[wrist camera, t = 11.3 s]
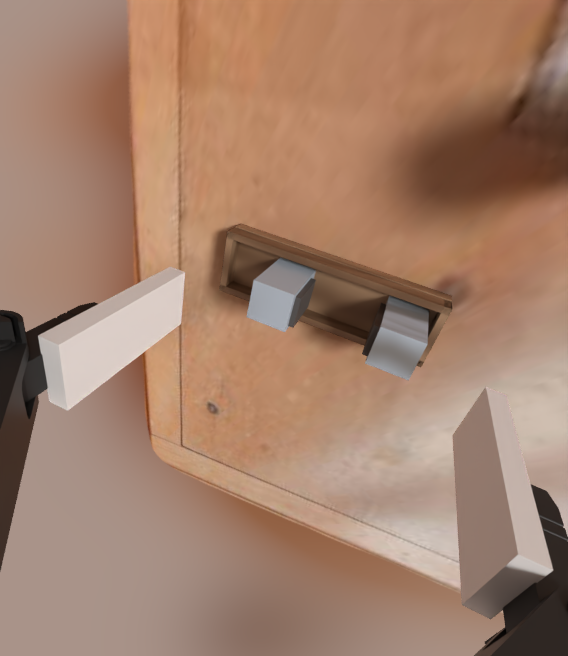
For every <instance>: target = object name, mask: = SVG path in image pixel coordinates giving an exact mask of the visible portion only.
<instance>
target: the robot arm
mask: <svg viewBox="0 0 568 656" xmlns="http://www.w3.org/2000/svg"><path fill="white" fill-rule="evenodd" d="M184 280H185V272H183V271H180V270H178V269H175V268H173V267H169V268H167V269H165V270H163V271H161V272H159V273H157V274H155V275H153V276H151V277H149V278H147V279H146V280H144V281H142V282H140V283H138V284H136V285H134V286H132V287H130V288H128V289H126V290H124V291H123V292H121V293H119V294H117V295H115V296H113V297H111V298H109V299H107V300H105V301H103V302H102V303H100V304H97V303H95V302H94V303H89V304H84V305H80V306H78V307H76V308H74V309H72V310H70V311H68V312H67V313H64V314H62V315H60V316H58V317H57V318H54V319H52V320H50V321H48V322H46V323H44V324H41V325H40V326H37V327H36V328H33V329H31V330H29V331H27V332H25V327H24V322H23V318H22V316H21V315H20V314H18V313H15V312H13V311H5V310H0V570H1V566H2V561H3V557H4V553H5V548H6V544H7V539H8V535H9V531H10V526H11V522H12V517H13V513H14V509H15V504H16V500H17V495H18V491H19V487H20V482H21V478H22V474H23V469H24V464H25V460H26V456H27V452H28V447H29V443H30V438H31V434H32V430H33V424H34V421H35V416H36V412H37V408H38V403H39V401H38V394H40V393H41V392H43V391H44V390H46V389H47V391H48V397H49V402H51V403H53V404H55V405H57V406H59V407H61V408H63V409H65V410H69V409H70V408H72V407H73V406H74V405H75V404H77V403H78V402H79V401H81V400H82V399H83V398H85V397H86V396H87V395H89V394H90V393H91V392H93V391H94V390H95V389H96V388H98V387H99V386H100V385H102V384H103V383H104V382H106V381H107V380H108V379H110V378H111V377H112V376H113V375H115V374H116V373H117V372H118V371H120V370H121V369H123V367H125V366H126V365H128V364H129V363H130V362H132V361H133V360H134V359H136V358H137V357H138V356H139V355H141V354H142V353H143V352H145V351H146V350H147V349H149V348H150V347H151V346H153V345H154V344H155V343H156V342H158V341H159V340H160V339H162V338H163V337H164V336H166V335H167V334H168V333H169V332H171V331H172V330H173V329H175V328H176V327H177V326H179V325H180V324H181V317H182V305H183V292H184ZM453 451H454V469H455V488H456V506H457V524H458V543H459V561H460V579H461V598H462V605H463V606H465V607H467V608H469V609H471V610H473V611H475V612H477V613H479V614H481V615H483V616H485V617H487V618H489V619H492V618H493V617H494V616H496V615H497V614H498V613H499V612H501V611H502V610H503V613H504V620H505V628H503V629H502V630H500V631H499V632H498V633H496V634H495V635H494V636H492V637H491V638H490V639H488V640H487V641H485V644H486V645H485V646H484V647H483V648H482V649H481V650H480V651H478V652H477V653H476V654H475V655H474V656H568V537H567V534H566V530H565V528H563V526H564V524H563V521H562V518H561V515H560V512H559V509H558V507H557V506H556V504H555V503H554V501H553V500H552V498H551V497H550V495H549V494H548V492H547V491H545V490H543V489H541V488H538V487H536V486H533V485H531V484H530V481H529V477H528V473H527V469H526V466H525V462H524V458H523V454H522V450H521V447H520V443H519V439H518V435H517V432H516V428H515V424H514V420H513V417H512V413H511V409H510V405H509V401H508V398H507V395H506V394H503V393H501V392H498V391H495V390H493V389H490V388H488V387H486V388H485V389H484V390H483V392H482V393H481V395H480V396H479V398H478V399H477V401H476V402H475V404H474V405H473V406H472V408H471V409H470V411H469V412H468V414H467V415H466V417H465V418H464V420H463V421H462V422H461V424H460V425H459V427H458V428H457V430H456V431H455V433H454V434H453Z"/></svg>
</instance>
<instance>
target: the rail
mask: <svg viewBox="0 0 568 656" xmlns="http://www.w3.org/2000/svg"><path fill="white" fill-rule="evenodd" d="M281 257H282V258H285V259H288V260H290V261H293V262H296V263H299V264H302V265H304V266H307V267H310V268H313V269H316V272H315V276H314V279H315V280H316V282H315V285H314V289H313V292H312V295H311V299H310V302H309V306H308V308H307V309H306V310H305V312H304V313H303V315H302V316H301V317H300V319H299V321H302V322H304V323H307V324H309V325H312V326H315V327H317V328H320V329H323V330H325V331H328V332H330V333H333V334H336V335H338V336H341V337H343V338H346V339H349V340H351V341H354V342H356V343H359V344H362V345H364V350H363V353H362V354H363V355H366V356H367V359H366V362H365V363H366V364H368V365H371V366H373V367H376V368H378V369H381V370H383V371H386V372H388V373H391V374H394V375H396V376H399V377H401V378H404V379H406V380H409V378H410V377H411V375H412V373H413V371H414V369H415V367H416V366H419V367H421V366H422V365H423V363H424V361H425V359H426V357H427V355H428V353H429V352H430V350H431V348H432V346H433V344H434V342H435V340H436V339H437V337H438V335H439V333H440V331H441V329H442V327H443V326H444V324H445V322H446V320H447V318H448V316H449V314H450V313H451V311H452V296H451V295H448V294H445V293H442V292H439V291H436V290H433V289H430V288H428V287H425V286H422V285H419V284H416V283H413V282H410V281H407V280H404V279H401V278H398V277H395V276H392V275H390V274H387V273H384V272H381V271H378V270H375V269H372V268H369V267H366V266H363V265H360V264H357V263H354V262H352V261H349V260H346V259H343V258H340V257H337V256H334V255H331V254H328V253H325V252H322V251H319V250H316V249H314V248H311V247H308V246H305V245H302V244H299V243H296V242H293V241H290V240H287V239H284V238H281V237H278V236H276V235H273V234H270V233H267V232H264V231H261V230H258V229H255V228H252V227H249V226H246V225H243V224H239V225H237V226H235V228H233V229H231V230H229V231H227V239H226V246H225V253H224V260H223V268H222V275H221V282H220V289H219V290H221V291H223V292H226V293H229V294H231V295H234V296H236V297H239V298H242V299H244V300H247V301H249V302H250V297H251V292H252V287H253V281H254V279H256V278H257V277H258V276H259V275H260V274H262V273H263V272H264V271H265V270H266V269H268V268H269V267H270V266H271V265H272V264H274V263H275V262H276V261H277V260H278V259H280V258H281Z"/></svg>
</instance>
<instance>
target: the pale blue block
mask: <svg viewBox="0 0 568 656" xmlns="http://www.w3.org/2000/svg"><path fill="white" fill-rule="evenodd" d="M315 272H316V269H313V268H310V267H307V266H304V265H302V264H299V263H296V262H293V261H290V260H288V259H285V258H282V257H281V258H280V259H278V260H277V261H276V262H275V263H274V264H272V265H271V266H270V267H269V268H268V269H266V270H265V271H264V272H263V273H262V274H260V275H259V276H258V277H257V278H256V279H254V281H253V287H252V292H251V297H250V302H249V307H248V312H247V317H248V318H250V319H253V320H255V321H258V322H260V323H263V324H265V325H268V326H270V327H273V328H276V329H278V330H281V331H283V332H285V331H286V330H287V328H288V327H289V326H290V327H294V326H295V324H296V323H297V322H298V320H299V319H300V317H301V316H302V315H303V313H304V312H305V310H306V309H307V308H308V306H309V302H310V299H311V295H312V292H313V289H314V285H315V282H316V280H315V279H314V276H315Z"/></svg>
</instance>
